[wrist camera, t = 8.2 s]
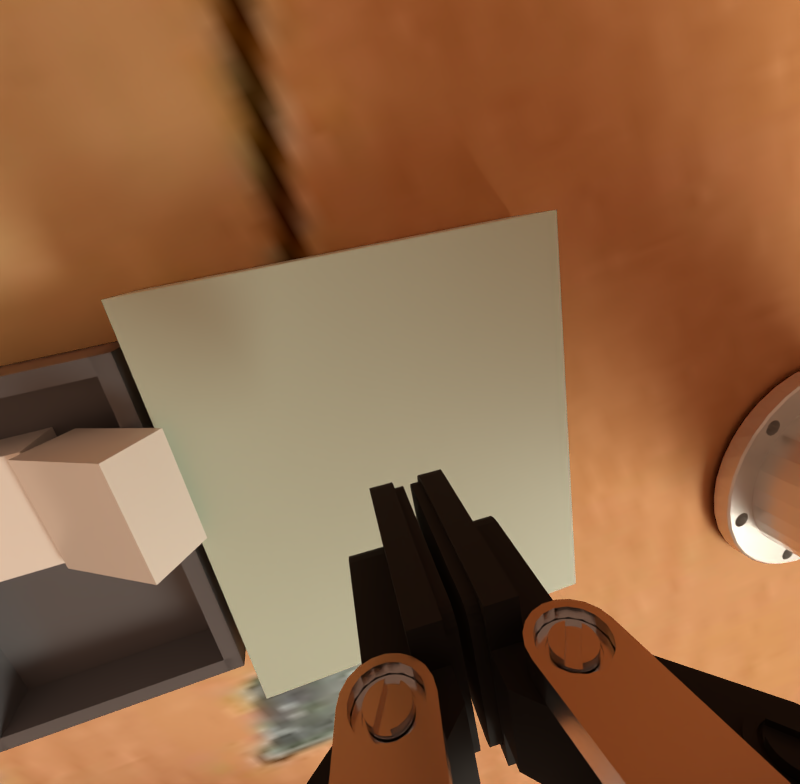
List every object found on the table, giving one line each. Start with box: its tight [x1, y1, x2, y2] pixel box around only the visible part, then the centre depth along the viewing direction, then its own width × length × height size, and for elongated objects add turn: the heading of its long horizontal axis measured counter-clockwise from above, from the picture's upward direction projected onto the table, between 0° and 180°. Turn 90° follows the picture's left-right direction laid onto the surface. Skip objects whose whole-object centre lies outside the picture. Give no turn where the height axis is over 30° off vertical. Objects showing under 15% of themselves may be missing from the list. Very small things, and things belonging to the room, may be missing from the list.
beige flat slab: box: [101, 210, 576, 698], centre depth 17 cm, size 14×16×3 cm
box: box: [0, 341, 246, 752], centre depth 15 cm, size 9×13×2 cm
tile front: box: [7, 428, 207, 585], centre depth 13 cm, size 4×4×2 cm
